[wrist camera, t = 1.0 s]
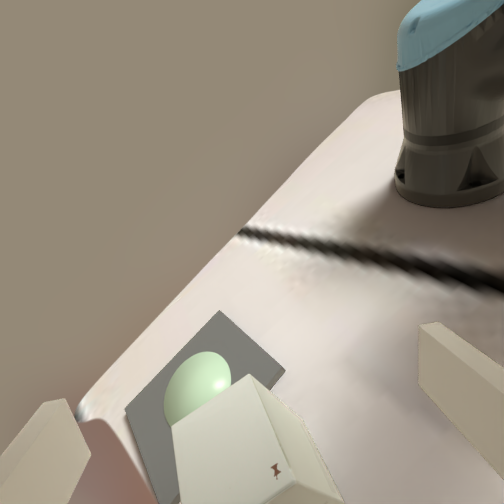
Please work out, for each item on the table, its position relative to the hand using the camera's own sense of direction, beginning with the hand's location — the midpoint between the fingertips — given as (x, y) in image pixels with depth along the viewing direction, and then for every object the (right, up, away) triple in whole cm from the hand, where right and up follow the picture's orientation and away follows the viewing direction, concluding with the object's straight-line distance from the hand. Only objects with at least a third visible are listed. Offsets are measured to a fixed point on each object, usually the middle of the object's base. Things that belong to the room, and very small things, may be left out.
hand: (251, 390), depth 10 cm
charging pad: (-6, -13, +25) cm, 29 cm away
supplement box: (+4, -16, +15) cm, 22 cm away
